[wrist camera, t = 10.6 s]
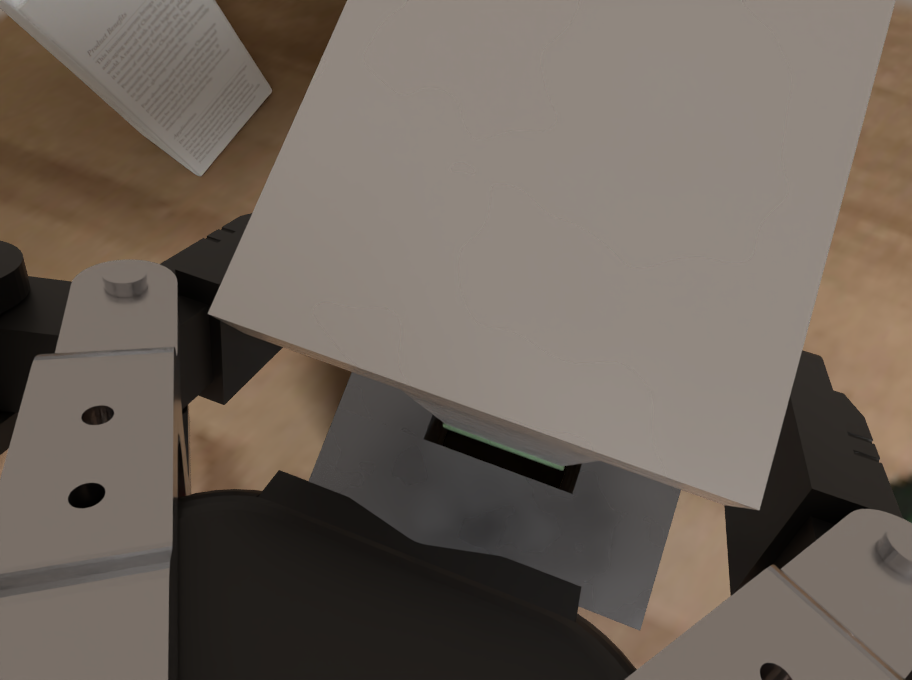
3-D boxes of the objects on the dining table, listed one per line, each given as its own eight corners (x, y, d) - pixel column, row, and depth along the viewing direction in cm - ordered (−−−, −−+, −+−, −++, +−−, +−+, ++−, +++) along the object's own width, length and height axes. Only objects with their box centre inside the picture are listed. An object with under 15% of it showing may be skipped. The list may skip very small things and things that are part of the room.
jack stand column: (435, 434, 22) (207, 313, 5) (480, 310, 23) (402, -123, 6) (565, 482, 21) (758, 510, 5) (608, 352, 22) (899, -13, 6)
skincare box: (216, 52, 33) (55, -178, 21) (276, 92, 32) (142, -125, 21) (140, 139, 32) (-69, -50, 21) (199, 182, 31) (16, 10, 20)
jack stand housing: (346, 491, 28) (297, 497, 21) (440, 248, 30) (421, 186, 23) (610, 594, 26) (643, 634, 19) (691, 327, 28) (744, 284, 21)
